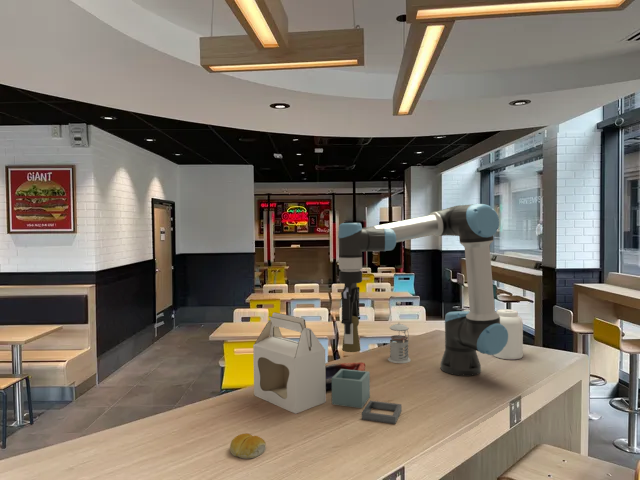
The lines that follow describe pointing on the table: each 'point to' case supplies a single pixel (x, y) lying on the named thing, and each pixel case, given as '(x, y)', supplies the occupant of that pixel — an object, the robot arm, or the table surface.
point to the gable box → (289, 365)
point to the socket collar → (381, 417)
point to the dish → (334, 368)
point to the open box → (350, 388)
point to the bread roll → (247, 446)
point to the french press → (399, 345)
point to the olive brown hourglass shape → (356, 345)
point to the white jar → (511, 334)
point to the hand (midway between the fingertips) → (351, 341)
